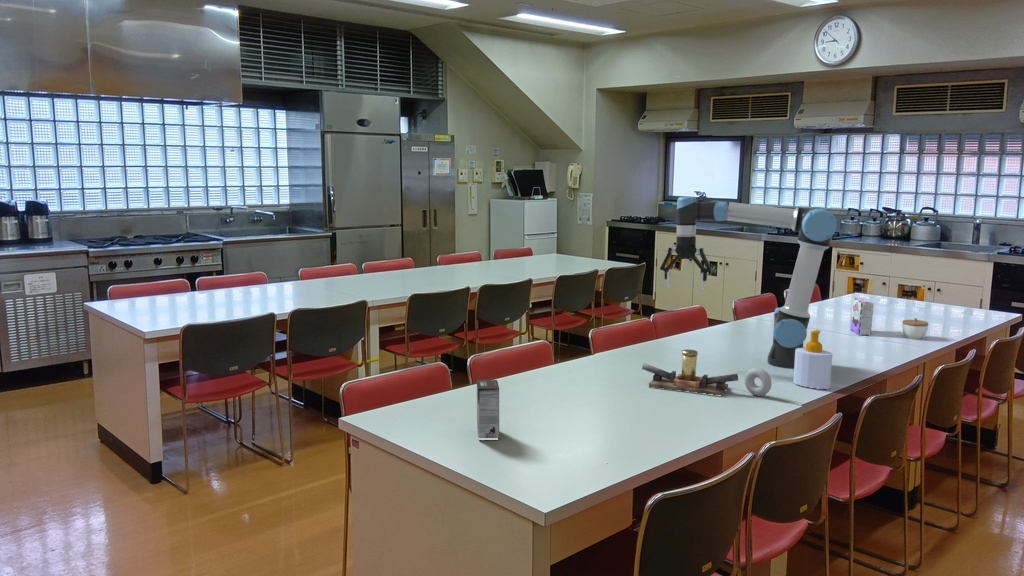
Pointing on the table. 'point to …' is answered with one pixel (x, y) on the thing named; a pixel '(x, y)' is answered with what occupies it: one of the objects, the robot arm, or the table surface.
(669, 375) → the shaft stand
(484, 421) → the coffee box
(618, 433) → the table surface
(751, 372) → the donut
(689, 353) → the cylinder
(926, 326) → the lidded jar
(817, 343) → the soap bottle
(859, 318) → the candy box
